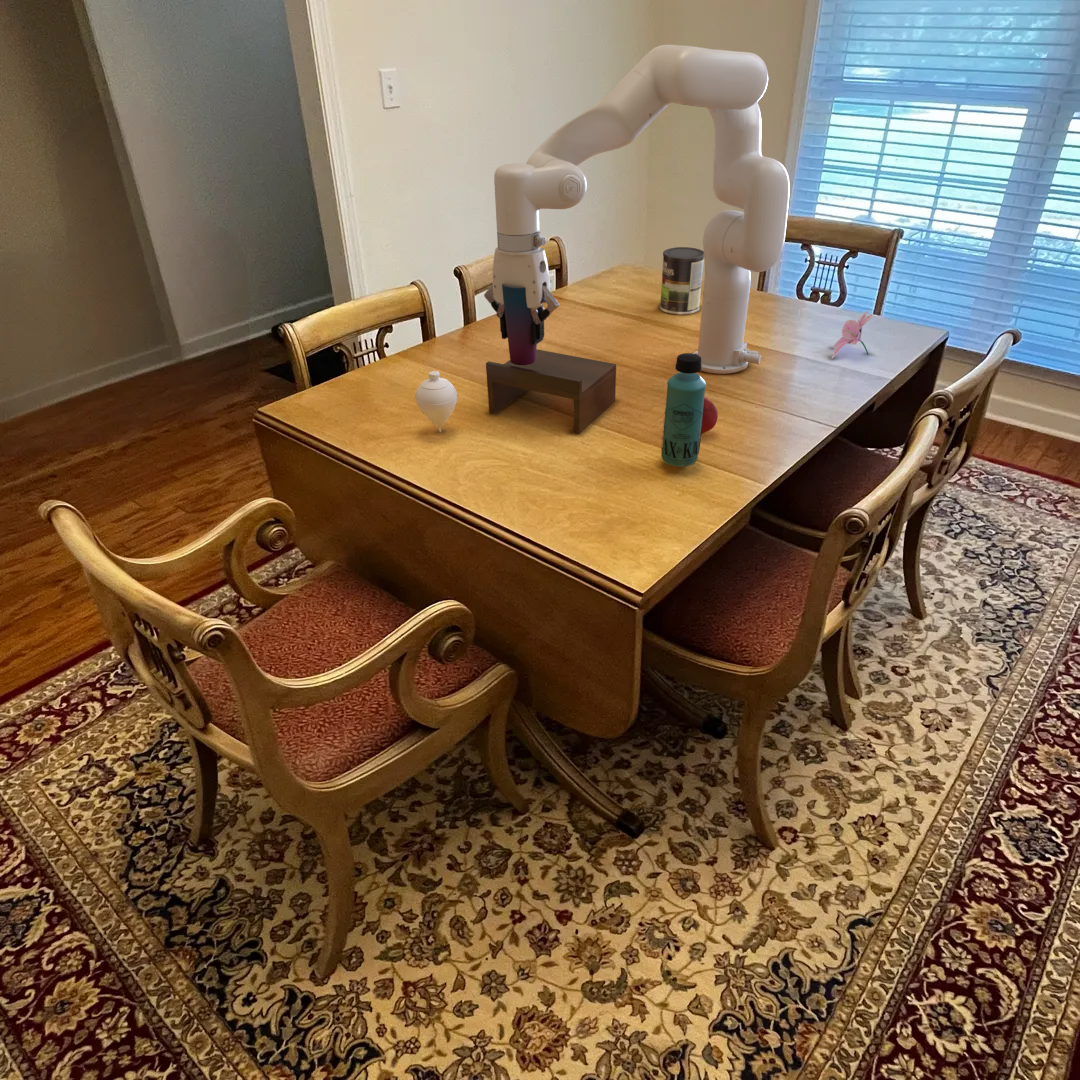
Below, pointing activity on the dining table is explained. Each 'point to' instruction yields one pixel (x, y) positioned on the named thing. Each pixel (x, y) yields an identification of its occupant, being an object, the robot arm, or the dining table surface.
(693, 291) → the coffee can
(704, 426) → the onion
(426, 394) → the spinning top
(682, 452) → the beverage bottle
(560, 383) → the shelf
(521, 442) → the dining table surface
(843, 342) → the lily
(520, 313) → the cup
